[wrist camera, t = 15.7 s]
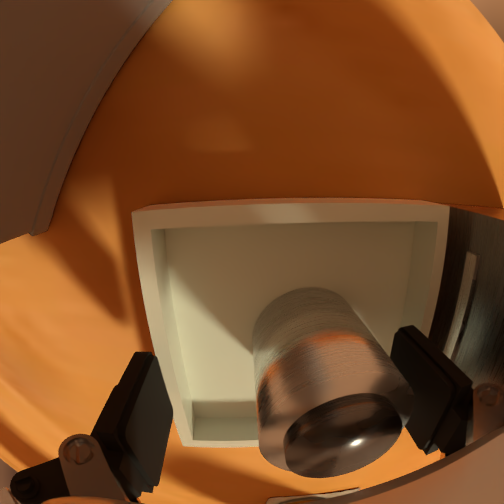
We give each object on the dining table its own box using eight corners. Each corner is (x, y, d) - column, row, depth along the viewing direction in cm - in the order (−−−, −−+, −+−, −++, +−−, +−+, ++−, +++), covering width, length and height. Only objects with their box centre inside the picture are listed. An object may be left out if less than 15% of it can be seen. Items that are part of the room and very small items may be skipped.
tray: (187, 419, 13) (182, 446, 11) (149, 205, 10) (131, 211, 8) (384, 399, 14) (397, 421, 12) (421, 200, 11) (449, 206, 9)
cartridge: (273, 388, 12) (288, 498, 6) (235, 311, 11) (229, 430, 5) (363, 353, 12) (419, 448, 6) (342, 269, 11) (424, 356, 5)
